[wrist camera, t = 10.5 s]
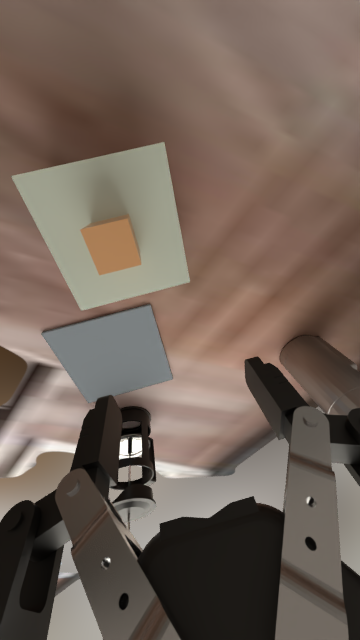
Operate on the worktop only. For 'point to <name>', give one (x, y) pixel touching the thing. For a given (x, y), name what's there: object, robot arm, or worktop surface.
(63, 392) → the worktop surface
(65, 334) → the mat
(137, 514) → the french press
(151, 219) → the lid
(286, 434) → the robot arm
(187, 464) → the worktop surface
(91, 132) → the worktop surface
